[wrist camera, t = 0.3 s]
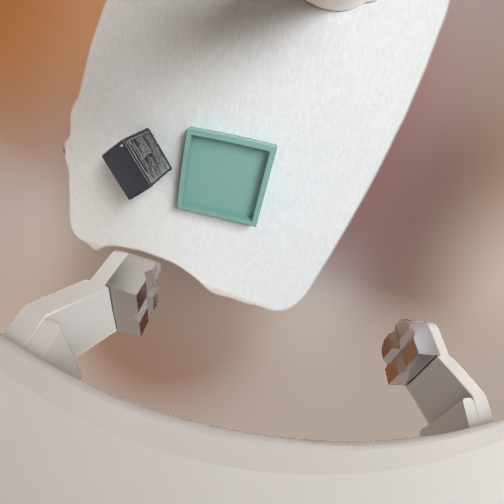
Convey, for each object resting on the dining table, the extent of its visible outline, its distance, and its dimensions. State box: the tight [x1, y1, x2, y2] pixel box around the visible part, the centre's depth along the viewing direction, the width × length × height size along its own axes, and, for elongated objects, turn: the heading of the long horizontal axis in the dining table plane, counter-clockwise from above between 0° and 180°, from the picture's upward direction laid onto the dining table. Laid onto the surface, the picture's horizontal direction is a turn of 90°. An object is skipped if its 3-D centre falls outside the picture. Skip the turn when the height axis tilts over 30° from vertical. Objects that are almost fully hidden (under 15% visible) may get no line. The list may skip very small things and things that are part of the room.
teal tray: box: [177, 127, 277, 227], centre depth 54 cm, size 17×17×3 cm
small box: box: [102, 128, 172, 200], centre depth 50 cm, size 11×6×10 cm, turn 26°
